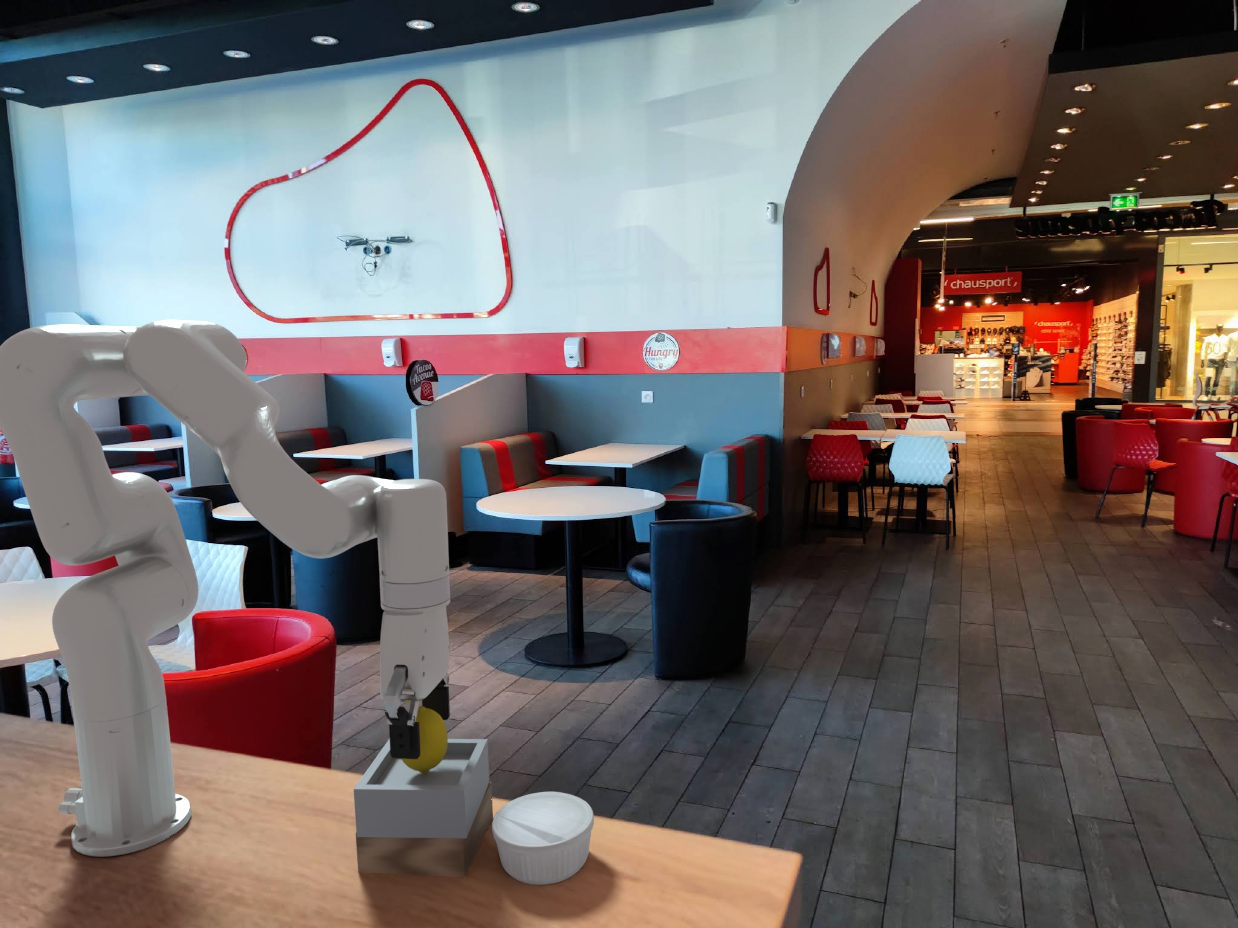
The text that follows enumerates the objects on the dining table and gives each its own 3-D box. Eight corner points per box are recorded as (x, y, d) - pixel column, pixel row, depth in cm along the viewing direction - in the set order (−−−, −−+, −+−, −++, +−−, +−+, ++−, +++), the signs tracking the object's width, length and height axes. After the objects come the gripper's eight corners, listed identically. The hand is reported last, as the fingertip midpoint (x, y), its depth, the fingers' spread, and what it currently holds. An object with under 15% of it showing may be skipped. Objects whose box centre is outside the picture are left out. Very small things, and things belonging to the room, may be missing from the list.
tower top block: (356, 836, 93) (353, 789, 92) (392, 781, 105) (389, 738, 104) (466, 838, 92) (464, 790, 91) (489, 781, 104) (487, 738, 103)
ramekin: (485, 892, 90) (483, 845, 90) (502, 832, 101) (500, 790, 101) (591, 892, 90) (590, 845, 89) (597, 832, 101) (596, 790, 100)
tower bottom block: (358, 875, 94) (355, 833, 94) (398, 816, 106) (395, 778, 105) (465, 880, 93) (462, 837, 92) (493, 820, 105) (491, 781, 104)
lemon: (437, 787, 95) (433, 718, 94) (391, 783, 96) (387, 714, 95) (457, 764, 100) (453, 698, 99) (413, 760, 102) (409, 695, 100)
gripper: (411, 570, 104) (417, 704, 107) (349, 614, 87) (357, 772, 90) (471, 571, 103) (476, 707, 106) (420, 616, 86) (426, 776, 89)
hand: (421, 736), depth 98 cm, fingers open, 9 cm apart
